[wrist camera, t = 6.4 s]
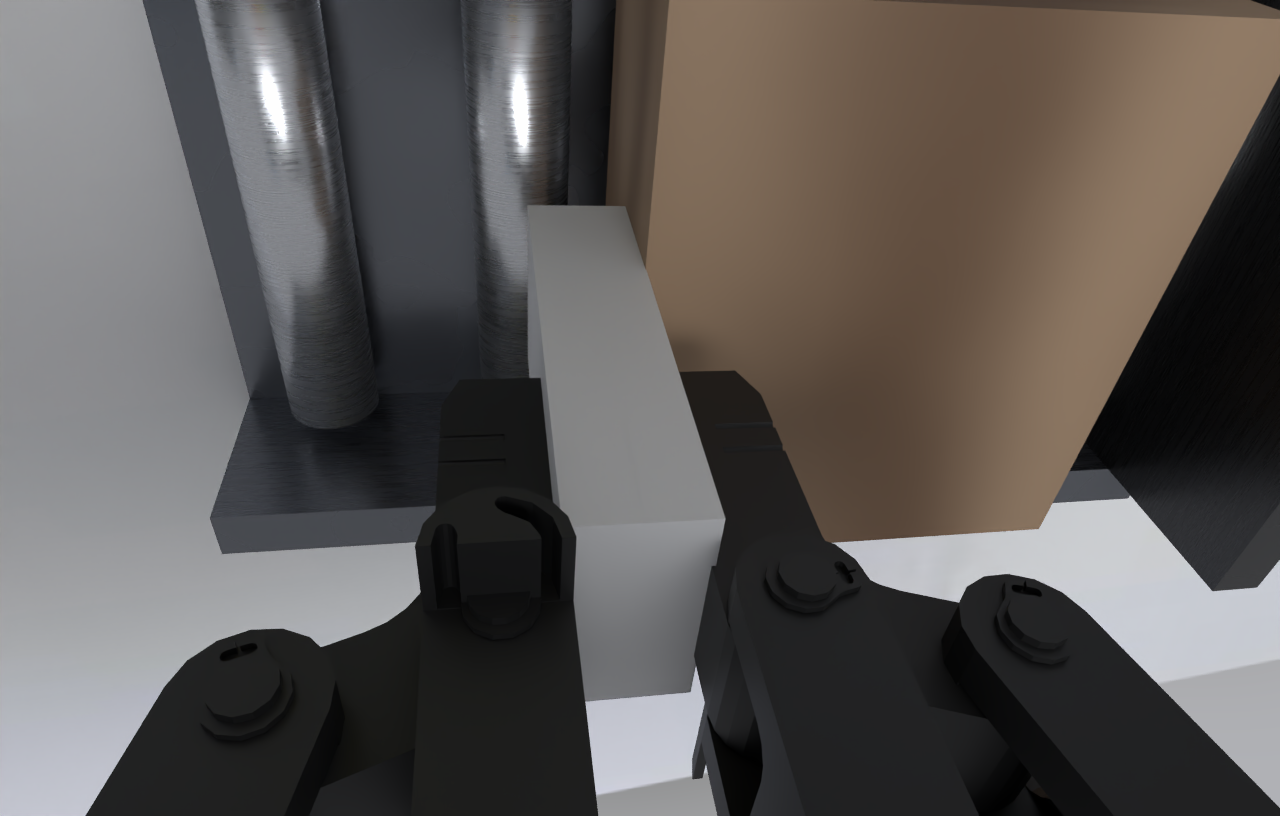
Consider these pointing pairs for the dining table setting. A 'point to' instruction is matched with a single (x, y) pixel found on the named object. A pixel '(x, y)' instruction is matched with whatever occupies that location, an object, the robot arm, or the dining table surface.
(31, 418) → the dining table surface
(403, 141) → the roller bed
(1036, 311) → the slab
